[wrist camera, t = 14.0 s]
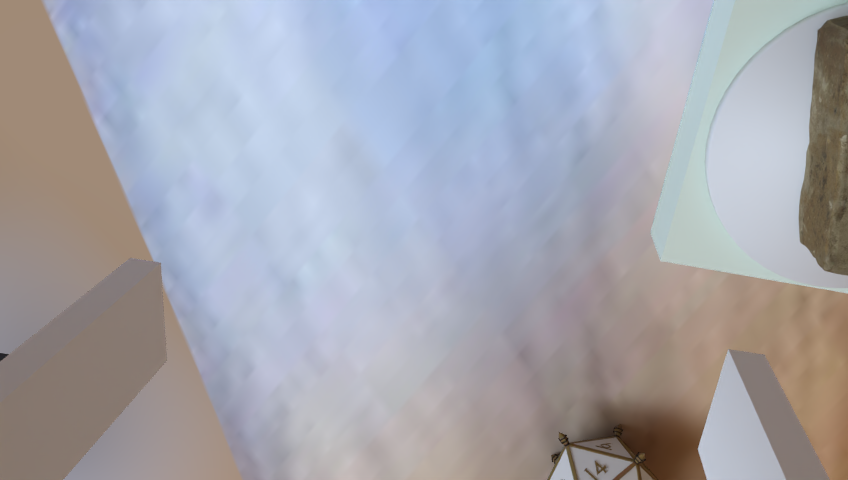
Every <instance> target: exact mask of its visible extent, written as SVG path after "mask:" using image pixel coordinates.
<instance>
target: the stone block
mask: <svg viewBox="0 0 848 480" xmlns="http://www.w3.org/2000/svg"><path fill="white" fill-rule="evenodd" d="M799 237H800V243H801V244H803V245H804V246H806V247H807V248H808V250H809V251H810V253H811V254H812V256H813V257H814V258H816V261H817V263H818V265H819V266H820V267H821V268H822V269H823V270H824V271H827V272H831V273H835V274H840V275H847V276H848V16H842V17H838V18H834V19H830V20H827V21H826V22H825V23H824V25H823V26H822V27H821V28H820V29H818V30H817V44H816V50H815V58H814V75H813V86H812V100H811V107H810V121H809V145H808V148H807V152H806V167H805V174H804V180H803V185H802V189H801V194H800V203H799Z"/></svg>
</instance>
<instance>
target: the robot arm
mask: <svg viewBox="0 0 848 480" xmlns="http://www.w3.org/2000/svg"><path fill="white" fill-rule="evenodd" d="M166 361H167V354H166V338H165V324H164V307H163V292H162V276H161V263H159V262H153V261H146V260H138V259H133V258H130V259H128V260H127V261H126V262H125V263H123V264H122V265H121V266H120V267H118V268H117V269H116V270H115V271H113V272H112V273H111V274H110V275H108V276H107V277H106V278H105V279H104V280H102V281H101V282H100V283H98V284H97V285H96V286H94V287H93V288H92V289H91V290H90V291H88V292H87V293H86V294H85V295H83V296H82V297H81V298H79V299H78V300H77V301H76V302H74V303H73V304H72V305H71V306H69V307H68V308H67V309H66V310H64V311H63V312H62V313H61V314H59V315H58V316H57V317H56V318H54V319H53V320H52V321H50V322H49V323H48V324H47V325H45V326H44V327H43V328H42V329H40V330H39V331H38V332H37V333H35V334H34V335H33V336H32V337H30V338H29V339H28V340H27V341H26V342H24V343H23V344H22V345H20V346H19V347H18V348H17V349H15V350H14V351H13V352H12V353H11V354H3V353H0V480H63V479H64V478H65V477H66V476H67V475H68V473H69V472H70V471H71V470H72V469H73V468H74V467H75V465H76V464H77V463H78V462H79V461H80V460H81V458H82V457H83V456H84V455H85V454H86V453H87V452H88V450H89V449H90V448H91V447H92V446H93V445H94V444H95V442H96V441H97V440H98V439H99V438H100V437H101V436H102V434H103V433H104V432H105V431H106V430H107V429H108V428H109V426H110V425H111V424H112V423H113V422H114V420H115V419H116V418H117V417H118V416H119V415H120V414H121V413H122V412H123V410H124V409H125V408H126V407H127V406H128V405H129V403H130V402H131V401H132V400H133V399H134V398H135V397H136V395H137V394H138V393H139V392H140V391H141V390H142V389H143V387H144V386H145V385H146V384H147V383H148V381H150V379H151V378H152V377H153V376H154V375H155V374H156V373H157V371H158V370H159V369H160V368H161V367H162V366H163V365H164V363H165V362H166ZM698 451H699V455H700V458H701V461H702V465H703V468H704V471H705V475H706V478H707V480H830V479H829V477H828V475H827V473H826V472H825V470H824V468H823V466H822V464H821V462H820V460H819V458H818V456H817V454H816V452H815V451H814V449H813V447H812V445H811V443H810V441H809V439H808V437H807V435H806V433H805V431H804V430H803V428H802V426H801V424H800V422H799V420H798V418H797V416H796V414H795V412H794V410H793V409H792V407H791V405H790V403H789V401H788V399H787V397H786V395H785V393H784V391H783V389H782V388H781V386H780V384H779V382H778V380H777V378H776V376H775V374H774V372H773V370H772V368H771V366H770V365H769V363H768V361H767V359H766V357H765V355H763V354H756V353H750V352H743V351H737V350H730V349H728V352H727V355H726V358H725V362H724V365H723V368H722V371H721V375H720V378H719V381H718V385H717V388H716V391H715V394H714V398H713V401H712V404H711V407H710V411H709V414H708V417H707V421H706V424H705V427H704V430H703V434H702V437H701V440H700V443H699V447H698Z"/></svg>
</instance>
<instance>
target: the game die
mask: <svg viewBox="0 0 848 480" xmlns="http://www.w3.org/2000/svg"><path fill="white" fill-rule="evenodd" d="M614 429H615V430H614V431H613V432H614V436H611V437H605V438H598V439H591V440H585V441H578V442H571V443H569V442H568V438H567V437H566V436H567V435H564V434H562V433H560V432H559V438H558V439H559V440H560V441H561V443H562V444H564V447H563V449H562V451H561V453H560V455H559V457H558V456H557V455H551V456H552V462H554V464H555V465H554V467H553V469H552V471H551V473H550V475H549V477H548V479H547V480H658V479H657V478H656V477H655V476H654V474H653V473H652V472H651V471H650V470H649V469H648V468H647V467H646V466H645V465H644V464H643V461H645V460H646V459H645V453H639V452H638V455H635V454H634V453H633V452H632V451H631V450H630V448H629V447H628V446H627V445H626V444H625V443H624V442H623V441H622V440H621V439H620V437H619V436H620V435H621V434H622V433H621V432H622V431H623V430H622V428H621V425H620V424H619V425H618V426H617V427H616V428H614Z"/></svg>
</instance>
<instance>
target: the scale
mask: <svg viewBox="0 0 848 480" xmlns="http://www.w3.org/2000/svg"><path fill="white" fill-rule="evenodd" d="M842 16H848V0H714V3H713V6H712V10H711V14H710V17H709V21H708V25H707V28H706V32H705V36H704V39H703V43H702V47H701V50H700V54H699V58H698V61H697V65H696V68H695V72H694V76H693V79H692V83H691V87H690V90H689V94H688V98H687V101H686V105H685V109H684V112H683V116H682V120H681V123H680V127H679V130H678V134H677V138H676V141H675V145H674V149H673V152H672V156H671V160H670V163H669V167H668V171H667V174H666V178H665V182H664V185H663V189H662V192H661V196H660V200H659V203H658V207H657V211H656V214H655V218H654V222H653V225H652V229H651V236H652V238H653V241H654V244H655V247H656V249H657V252H658V255H659V258H660V260H661V261H664V262H669V263H675V264H681V265H687V266H693V267H698V268H704V269H710V270H716V271H722V272H727V273H733V274H739V275H745V276H751V277H756V278H762V279H768V280H774V281H779V282H785V283H791V284H797V285H803V286H808V287H814V288H820V289H826V290H832V291H837V292H843V293H848V276H847V275H840V274H835V273H831V272H827V271H824V270H823V269H822V268H821V267H820V266H819V265H818V263H817V261H816V258H814V257H813V256H812V254H811V253H810V251H809V250H808V248H807V247H806V246H804V245H803V244H801V243H800V237H799V203H800V194H801V189H802V185H803V180H804V174H805V167H806V152H807V148H808V145H809V121H810V107H811V100H812V86H813V75H814V58H815V50H816V44H817V30H818V29H820V28H821V27H822V26H823V25H824V23H825V22H826V21H827V20H830V19H834V18H838V17H842Z"/></svg>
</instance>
